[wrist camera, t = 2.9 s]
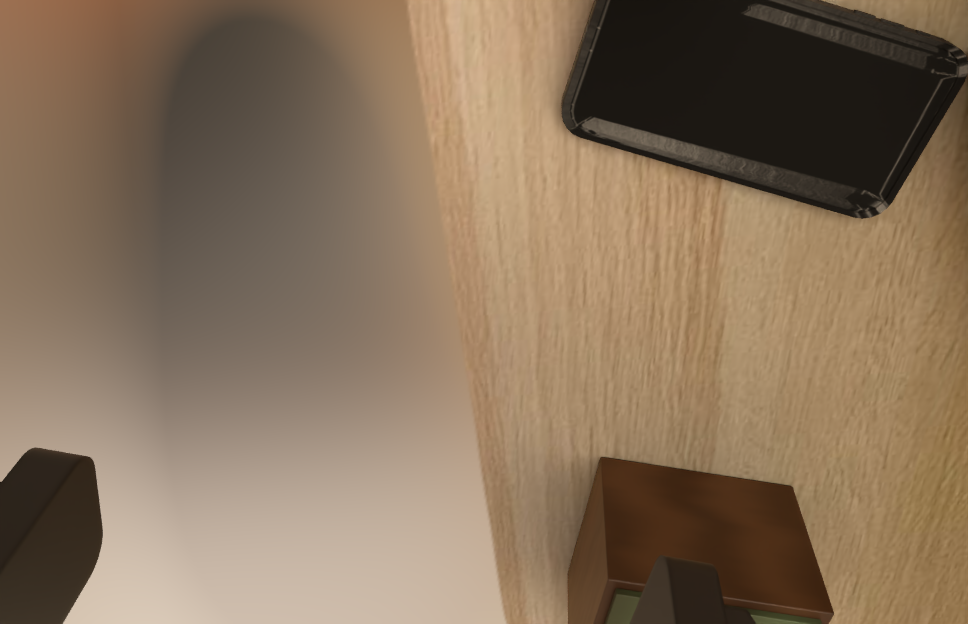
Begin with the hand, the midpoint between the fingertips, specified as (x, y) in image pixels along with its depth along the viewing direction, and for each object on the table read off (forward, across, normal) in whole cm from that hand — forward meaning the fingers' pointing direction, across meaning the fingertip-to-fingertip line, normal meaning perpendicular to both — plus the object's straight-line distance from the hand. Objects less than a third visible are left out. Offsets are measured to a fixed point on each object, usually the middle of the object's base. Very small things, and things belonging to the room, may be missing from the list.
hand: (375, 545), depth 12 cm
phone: (+28, +11, 0) cm, 30 cm away
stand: (+28, +15, -26) cm, 41 cm away
